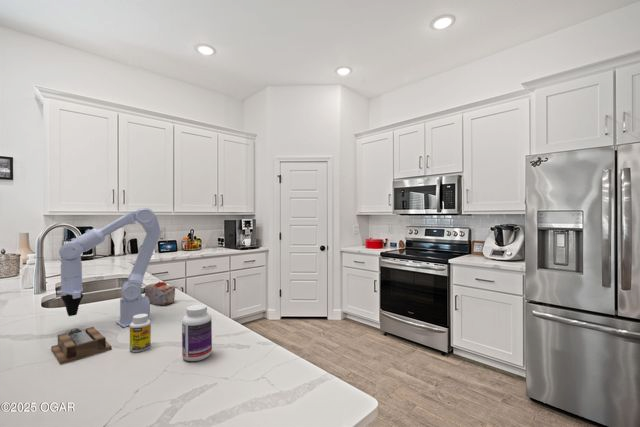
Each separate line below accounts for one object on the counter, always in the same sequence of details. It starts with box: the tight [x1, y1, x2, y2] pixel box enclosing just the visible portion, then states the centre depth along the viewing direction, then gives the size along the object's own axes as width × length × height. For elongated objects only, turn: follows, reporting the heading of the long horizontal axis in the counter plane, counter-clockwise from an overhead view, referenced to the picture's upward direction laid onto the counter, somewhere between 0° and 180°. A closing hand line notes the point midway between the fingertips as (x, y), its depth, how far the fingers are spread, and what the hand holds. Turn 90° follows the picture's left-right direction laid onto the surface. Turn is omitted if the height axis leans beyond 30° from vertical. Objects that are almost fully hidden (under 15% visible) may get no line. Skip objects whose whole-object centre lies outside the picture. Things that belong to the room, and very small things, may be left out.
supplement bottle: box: [129, 314, 152, 353], centre depth 93 cm, size 6×6×10 cm
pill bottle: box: [181, 304, 213, 362], centre depth 88 cm, size 8×8×14 cm
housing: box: [50, 326, 112, 365], centre depth 92 cm, size 14×12×4 cm
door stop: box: [67, 328, 93, 345], centre depth 93 cm, size 15×4×4 cm, turn 50°
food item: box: [144, 281, 176, 306], centre depth 139 cm, size 14×8×10 cm, turn 69°
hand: (72, 315), depth 105 cm, fingers closed
